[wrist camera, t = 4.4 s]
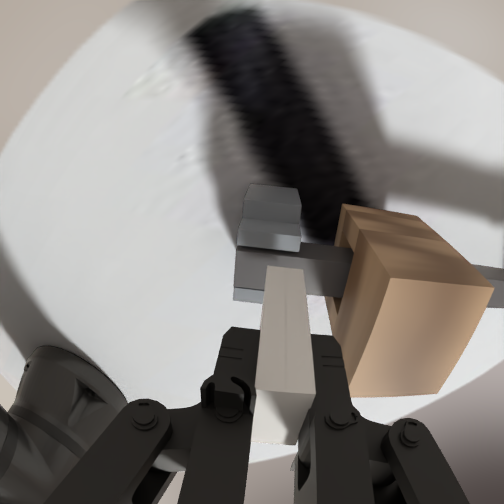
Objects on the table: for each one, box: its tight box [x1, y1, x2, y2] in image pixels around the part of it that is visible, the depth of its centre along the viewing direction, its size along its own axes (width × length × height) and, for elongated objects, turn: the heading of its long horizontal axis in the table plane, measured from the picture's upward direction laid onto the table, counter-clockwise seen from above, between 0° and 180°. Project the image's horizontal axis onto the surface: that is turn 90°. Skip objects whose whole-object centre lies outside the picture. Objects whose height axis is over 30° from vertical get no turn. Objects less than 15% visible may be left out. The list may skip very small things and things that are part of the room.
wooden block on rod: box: [325, 204, 494, 397], centre depth 14 cm, size 5×6×9 cm
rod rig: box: [233, 184, 504, 308], centre depth 16 cm, size 27×6×9 cm, turn 85°
